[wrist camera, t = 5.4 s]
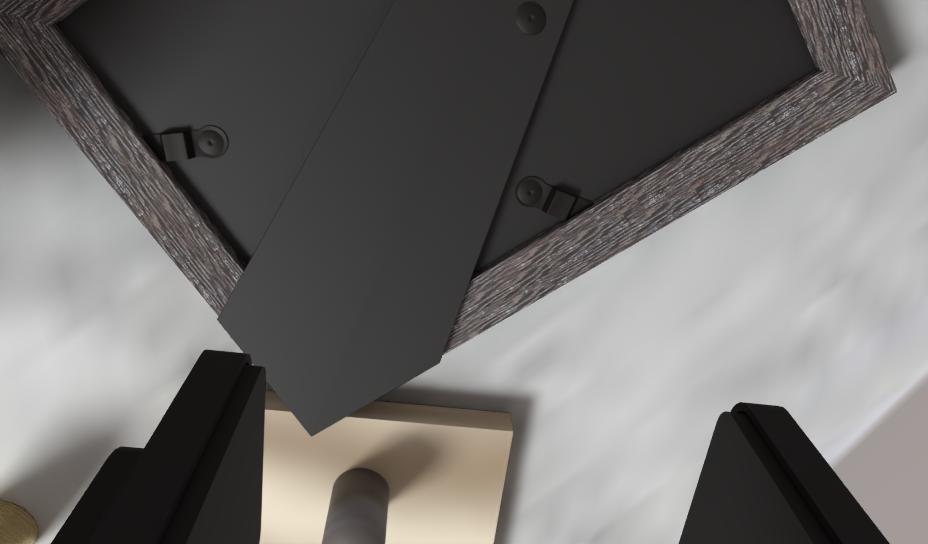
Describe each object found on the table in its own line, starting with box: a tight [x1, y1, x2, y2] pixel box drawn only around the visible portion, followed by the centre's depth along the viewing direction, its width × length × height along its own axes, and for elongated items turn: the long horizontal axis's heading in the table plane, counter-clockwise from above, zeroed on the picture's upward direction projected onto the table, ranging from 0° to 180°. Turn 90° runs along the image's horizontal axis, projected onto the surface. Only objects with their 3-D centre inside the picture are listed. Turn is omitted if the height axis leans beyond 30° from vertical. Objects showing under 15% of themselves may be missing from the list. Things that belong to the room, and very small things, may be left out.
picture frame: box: [0, 0, 897, 437], centre depth 21 cm, size 16×2×21 cm
